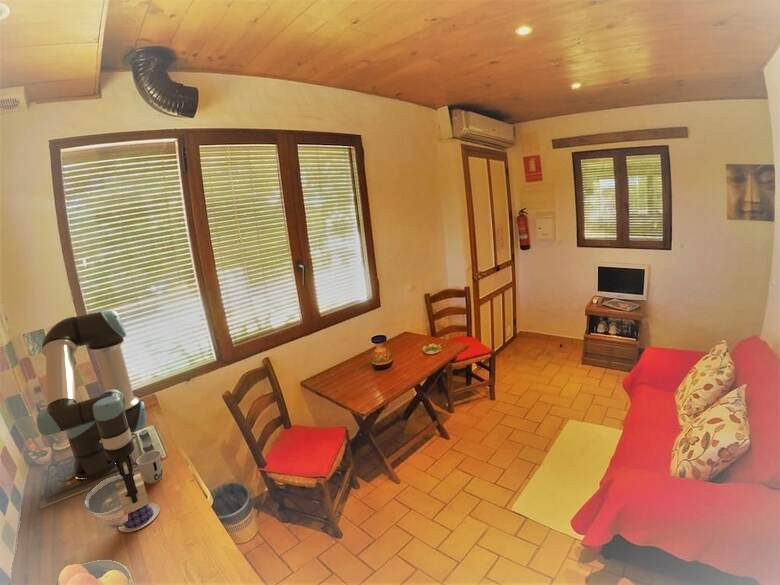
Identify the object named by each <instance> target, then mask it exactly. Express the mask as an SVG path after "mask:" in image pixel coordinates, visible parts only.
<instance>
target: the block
mask: <svg viewBox="0 0 780 585" xmlns="http://www.w3.org/2000/svg"><path fill="white" fill-rule="evenodd" d="M134 475H135V476H133V478H134V481H135V485H136V488H137V490H138V495H139V498H140V502H141V506H142V507H143V506H145V505H147V504H149V503H150V501H149V500H150V499H149V497H148V494H147V490H146V487H145V484H144V481H143V476H142V474H141V473H140V472H139V473H137V474H134ZM115 488H116V491H117V495H118V498H119V502H120V505H121V509H122V512H123V515H124V516H125V515H127V514H129V513H131V512H132V509H131V506H130V502H129V499H128V497H125V495H127V489H126V486H125V482H124V481H123V480H121V481H120V482H117V483H115Z"/></svg>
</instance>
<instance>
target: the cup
mask: <svg viewBox="0 0 780 585" xmlns="http://www.w3.org/2000/svg"><path fill="white" fill-rule="evenodd" d="M136 464H137V467H138V471H139V473H140V475H141V477H142V479H144V481H145V482H146V483H147V484H156V483H157V482H159V481H160V480H161V479H162V478H163V472H164V470H163V469H164V468H163V464H164V463H163V458H162V452H161V451H160V450H157V449H155V450H150V451H147V452H144V453H143V454H141V455H140V456H138V457H137V459H136Z"/></svg>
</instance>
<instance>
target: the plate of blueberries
mask: <svg viewBox="0 0 780 585" xmlns="http://www.w3.org/2000/svg"><path fill="white" fill-rule="evenodd" d="M159 513H160V506H159V504H157V503H153V502H151V503H150V502H149V504H147V505H145V506H143V507H142V508H140V509H138V510H136V511H134V512H131V513H129V514H128V521H127V522H126V525H125V526H123V527H118V526H117V527H118V528H117V529H118V530H119V531H120V532H122V533H131V532H134V531H138V530H140V529H143V528H144V527H145V526H147V525H148V524H150V523H151V522H152V521H154V520H155V519H156V517H157V516H158V515H159Z"/></svg>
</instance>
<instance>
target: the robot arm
mask: <svg viewBox="0 0 780 585" xmlns="http://www.w3.org/2000/svg"><path fill="white" fill-rule="evenodd" d="M127 335H128V334H127V332H126V329H125V325H124V323H123V321H122V318H121V317H120V315H119V313H118V312H117V311H116V310H104V311H103V310H102V311H98V312H92V313H88V314H83V315H82V314H81V315H77V316H69V317H66V318H64V319H62V320H60V321H58V322H57V323H56V324H54V325H53V326H52V327H51V328H50V330H49V331H48V332H47V334H46V335H45V336H44V338H43V340H42V344H41V353H42V355H43V356H44V357H45V377H46V378H45V379H46V380H45V383H46V384H45V385H46V410H45V411H43V412H40V413H38V414H37V417H36V426H37V429H38V431H39V432H38V433H39V434H41V436H44V437H46V436H51V435H54V434H59V433H63V432H64V431H65V433H66V439H67V440H68V442H69V445H70V448H71V452H72V454H73V459H74V460H73V466H72V475H73V474H74V475H75V476H76V477H78V478H85V479H86V478H87V479H88V480H90V479H89V478H92V479H94V478H93V477H95V478H97V477H99V475H100V476H102V475H104V474H106V473H107V472H106V471H108V470H109V471H111V470H112V469H113V468H114V467H115V466H116V468H117V470H118V471H119V476H120V477H122V481H124V482H125V486H126V489H127V495H125V497H128V499H129V502H130V506H131V509H132V512H134V511H136V510H138V509H140V508H142V506H141V502H140V498H139V495H138V490H137V488H136V485H135V481H134V478H133V476H135V475H136V474H135V473H133V471H134V470H133V466H132V464H133V462H132V459H131V456H130V455H132V453H133V452H134V451H135V444H134V441H133V439H132V437H133V435H132V434H133V433H136V432H138V431H141V430H143V429H145V428H146V425H147V419H146V409H145V408H146V407H145V406H146V405H145V401H141V400H140V398H139V397H137V396H134V393H133V392H134V391H133V388H132V385H131V384H132V383H131V381H130V377H129V373H128V369H127V366H126V361H125V358H124V354H123V350H122V347H121V346H122V344H123V343H124V341H125V340H124V338H125V337H127ZM82 346H87V347H88V350H89V351H91V352H94V354H95V359H96V362H97V364H98V369H99V371H100V376H101V380H102V383H103V385H104V389H105V390H104V391H103V392H102V393H101V394H100V395H99V396H96V397H93V398H90V399H85V400H83V401H78V396H77V394H78V393H77V383H76V382H77V380H76V369H75V356H74V354H75V353H76V351H77V348H79V347H82ZM115 463H116V465H115ZM114 465H115V466H114ZM113 466H114V467H113ZM112 467H113V468H112ZM111 468H112V469H111ZM110 469H111V470H110ZM109 471H108V472H109ZM105 472H106V473H105ZM103 473H104V474H103ZM101 474H102V475H101ZM74 475H73V476H74ZM96 476H97V477H96Z"/></svg>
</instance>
